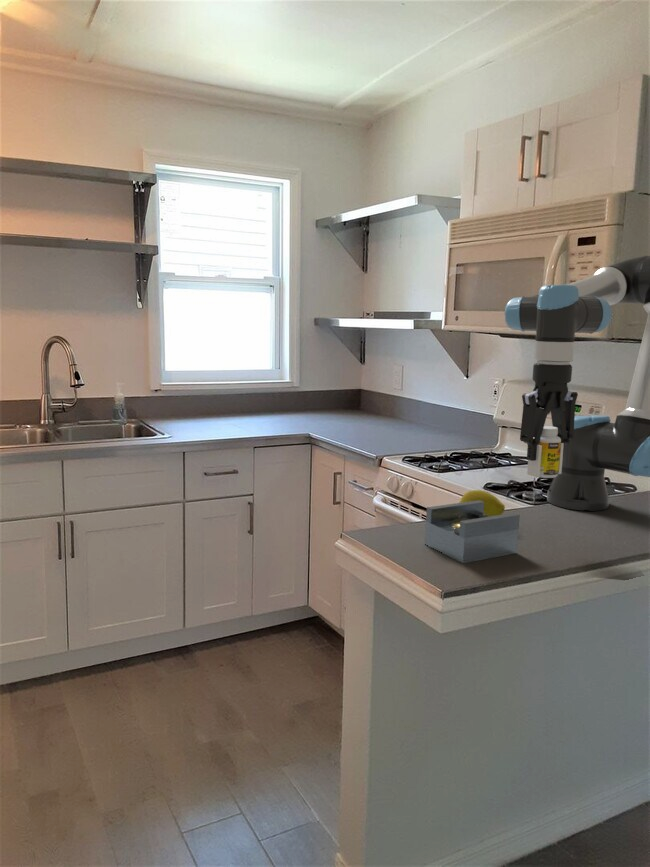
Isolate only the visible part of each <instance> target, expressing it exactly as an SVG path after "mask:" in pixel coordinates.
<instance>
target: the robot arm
mask: <svg viewBox="0 0 650 867" xmlns="http://www.w3.org/2000/svg"><path fill="white" fill-rule="evenodd" d="M617 304H643V309H644V310H645V312H646V313H647V318H646V323H645V327H644V331H643V335H642V339H641V343H640V346H639V351H638V355H637V359H636V365H635V366H634V367H635V368H634V371H633V374H632V375H633V376H632V381H631V384H630V388H629V392H628V396H627V401H626V405H625V408H624V409H623V411H621V412H619V413H618V414H616V418H615V421H614V422H611V418H610V416H609V415H603V414H601V415H600V414H594V415H593V414H592V415H591V414H589V415H576V403H577V399H578V395H579V394H578V392H576V391H571V390H569V388H568V383H570V382H572V373H573V366H572V364H570V363H571V362H573V361H574V354H575V352H574V350H575V336H576V334H590V335H591V334H595V333H599V332H602V331H604V330H605V329H606V328H607V327H608V326H609V325H610V323H611V321H612V317H613V316H612V313H613V312H612V307H611V306H613V305H617ZM504 321H505V324H506V326H507V327H508V328H509V329H511V330H512V331H520V332H535V341H534V355H533V356H534V357H533V360H534V361H536V362H535V363H534V364H533V366H532V380H533V381H534V383H535V384H534V387H533V390H532V391H531V392H529V393H523V394H522V396H521V400H522V404H523V405H522V406H523V407H522V415H521V416H522V417H521V426H520V437H519V440H520V441H521V442H523V443H524V444H527V448H526V450H527V451H526V452H527V453H526V458H527V460H528V461H527V472H526V473H527V474H526V475H528V476H531V477H535V478H541V477H540V466H541V453H542V446H541V445H539V442H540V438H541V435H542V431H543V428H544V426H545V424H546V420H547V416H548V414H550V415H551V424H552V426H553V427H557V428H558V435H557V436H558V437H560V439H561V447H560V459H559V471H558V475H557V476H556V477H554V478H552V481H551V484H550V486H549V488H548V490H547V493H546V494H547V495H546V501H547V502H548V503H549V504H551V505H554V506H557V507H561V508H564V509H569V510H576V511H584V510H589V511H591V512H592V511H593V512H594V511H597V512H598V511H604V510H607V509H608V508H609V507H610V496H609V495H608V489H607V484H606V480H605V470H609V471H612V472H617V473H623V474H628V475H632V476H635V477H646V478H650V255H640V256H636V257H632V258H628V259H625V260H622V261H618V262H615V263H612V264H610V265H607V266H604V267H602V268H600V269H598V270H597V271H596V272H594V274H592V275H591V276H588V277H585V278H582V279H579V280H577V281H574V282H571V283H567V284H545V285H542V286H541V287H540V289H539V292H538V294H536V295H532V296H521V297H520V296H519V297H513V298H511V299H510V300H509V301H508V302H507V303H506V304H505V309H504ZM533 437H534V438H533ZM589 511H588V512H589Z"/></svg>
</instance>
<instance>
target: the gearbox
mask: <svg viewBox="0 0 650 867" xmlns="http://www.w3.org/2000/svg"><path fill="white" fill-rule="evenodd" d="M483 510H484V502H482V501H480V500H477V501H470V502H462V503H459V502H456V503H450V504H449V503H448V504H442V505H434V506H428V507H426V519H425V534H424V535H425V536H424V545H425V544H426V545H425V546H427V545H428V546H427V547H428V548H430V549H433V548H434V549H433V550H435V549H436V550H435V551H437V550H438V551H437V552H439V551H440V552H439V553H441V552H442V553H441V554H443V555H445V556H447V557H449V558H451V559H453V560H455V561H457V562H459V563H461V564H467V563H468V564H469V563H473V562H478V561H483V560H488V559H489V560H490V559H493V558H499V557H503V556H504V557H505V556H509V555H515V554H517V553H518V544H519V543H518V540H519V528H520V525H519V524H520V515H521V514H518V513H515V512H510V513H505V514H504V513H503V514H502V515H497V516H490V517H488V515H487V514H485V513H483Z"/></svg>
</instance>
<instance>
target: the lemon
mask: <svg viewBox="0 0 650 867" xmlns="http://www.w3.org/2000/svg"><path fill="white" fill-rule="evenodd" d="M477 500H480V501H482V502H484V510H483V513H485V514H487V515H488V517H490V516H497V515H503V514H504V512H505V509H506V508H505V504H503V503H502V501H500V500H499V499H498V497H497V496H495V495H494V494H491V493H489V492H488V491H484V490H480V489H479V490H478V489H477V490H476V489H475V490H470V491H467V492H466V493H464V494H463V496H462V497H461V498H460V500H459V502H458V503H462V502H470V501H477Z"/></svg>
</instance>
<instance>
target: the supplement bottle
mask: <svg viewBox="0 0 650 867" xmlns="http://www.w3.org/2000/svg"><path fill="white" fill-rule="evenodd" d="M557 435H558V428H557V427H553V425H552V426H551V425H544V428H543V431H542V435H541V438H540V442H539V445H541V446H542V453H541V466H540V477H539V478H543V479H553V478H554V477H556V476H557V475H558V471H559V459H560V447H561V439H560V437H558V436H557ZM533 438H534V437H533Z"/></svg>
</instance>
